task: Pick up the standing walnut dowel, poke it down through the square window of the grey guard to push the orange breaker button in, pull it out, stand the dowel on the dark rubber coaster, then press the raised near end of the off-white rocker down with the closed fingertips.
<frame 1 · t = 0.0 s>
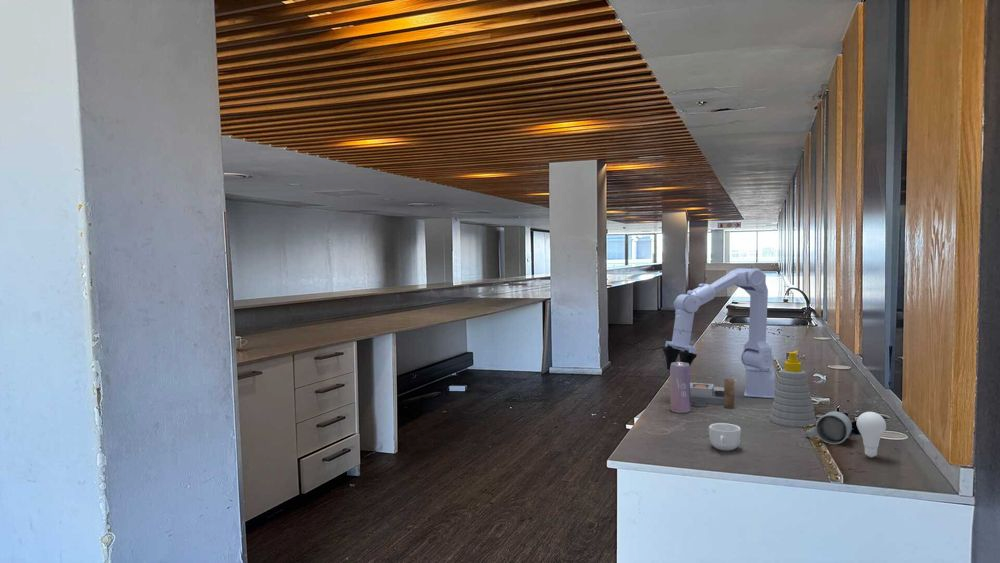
hand: (676, 371, 206), 11 cm above the countertop, tool pointing down, fingers open, 7 cm apart
dowel: (729, 407, 201), on the countertop
ceramic mug: (828, 440, 165), on the countertop
teacup: (724, 450, 159), on the countertop
breaker panel: (708, 399, 211), on the countertop
coaster: (699, 405, 204), on the countertop
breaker: (700, 388, 212), point 4 cm above the countertop, slide at 0.0 cm
rocker: (720, 389, 210), point 4 cm above the countertop, hinge at 14.0°
beverage can: (680, 411, 197), on the countertop
lightbulb: (870, 458, 151), on the countertop
soap bottle: (792, 422, 183), on the countertop
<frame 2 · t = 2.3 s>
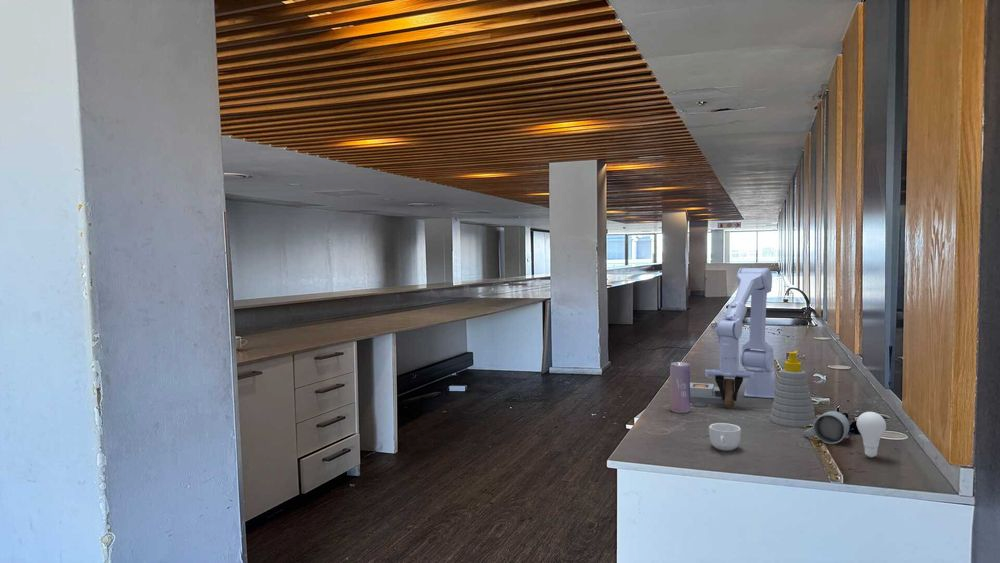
hand: (729, 399, 200), 2 cm above the countertop, tool pointing down, fingers closed on dowel, 3 cm apart
dowel: (729, 407, 201), on the countertop, touching gripper
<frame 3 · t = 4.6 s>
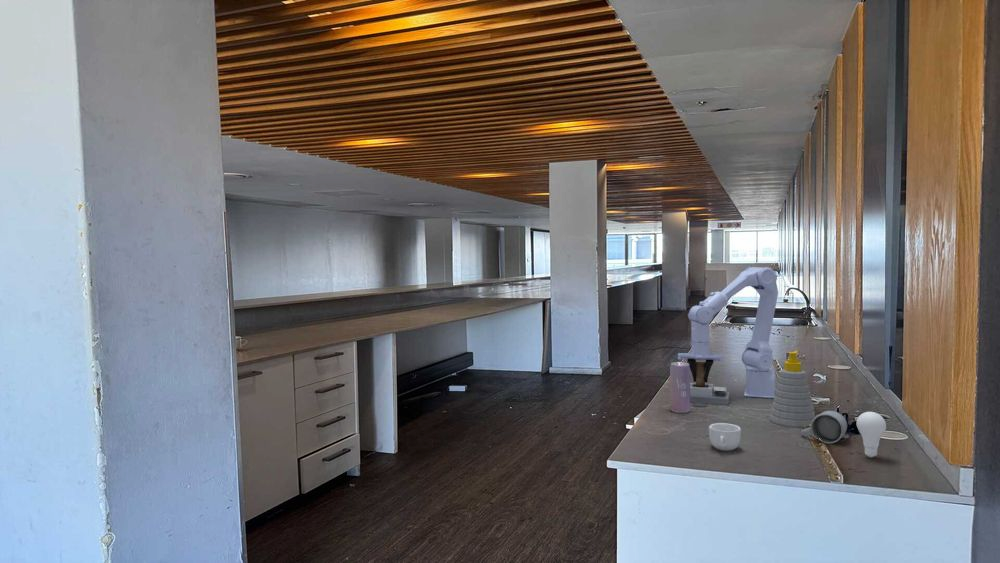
hand: (700, 381, 212), 6 cm above the countertop, tool pointing down, fingers closed on dowel, 3 cm apart
dowel: (700, 389, 212), point 4 cm above the countertop, touching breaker, gripper
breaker: (700, 390, 212), point 3 cm above the countertop, slide at 1.0 cm, touching dowel
when the fingers open (4 cm above the countertop, at t = 7.3 s): dowel stays where it is, resting on coaster.
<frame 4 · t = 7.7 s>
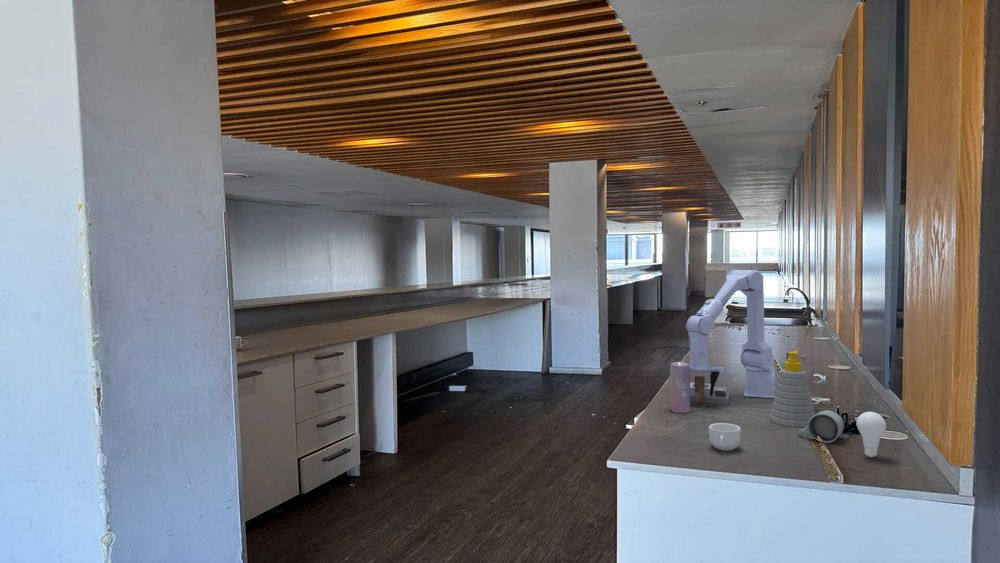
hand: (699, 394, 203), 4 cm above the countertop, tool pointing down, fingers open, 7 cm apart
dowel: (699, 404, 203), resting on coaster
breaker: (700, 390, 212), point 3 cm above the countertop, slide at 1.0 cm
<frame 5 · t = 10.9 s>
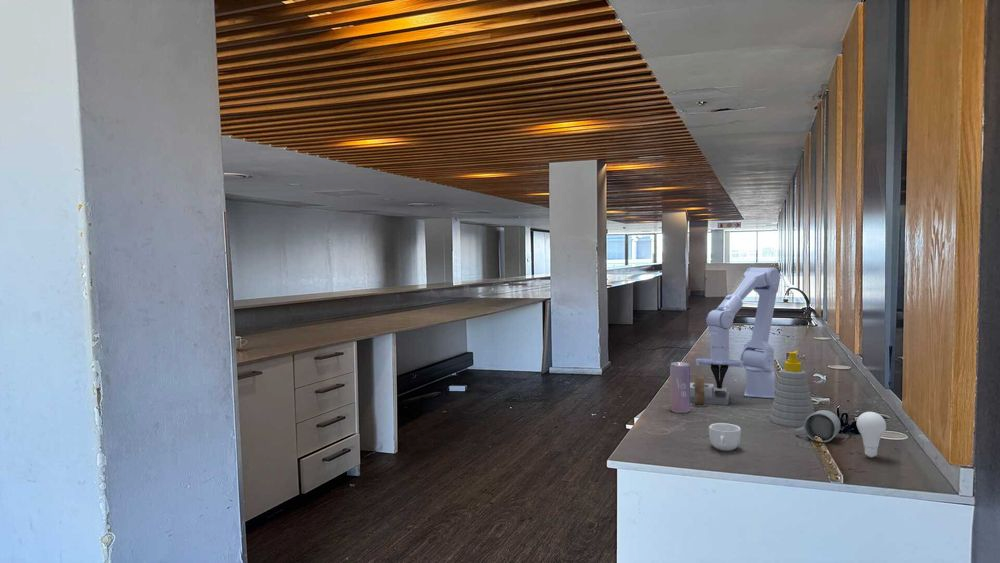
hand: (719, 387, 206), 5 cm above the countertop, tool pointing down, fingers closed, pressing on rocker
rocker: (720, 389, 210), point 4 cm above the countertop, hinge at 13.8°, touching gripper
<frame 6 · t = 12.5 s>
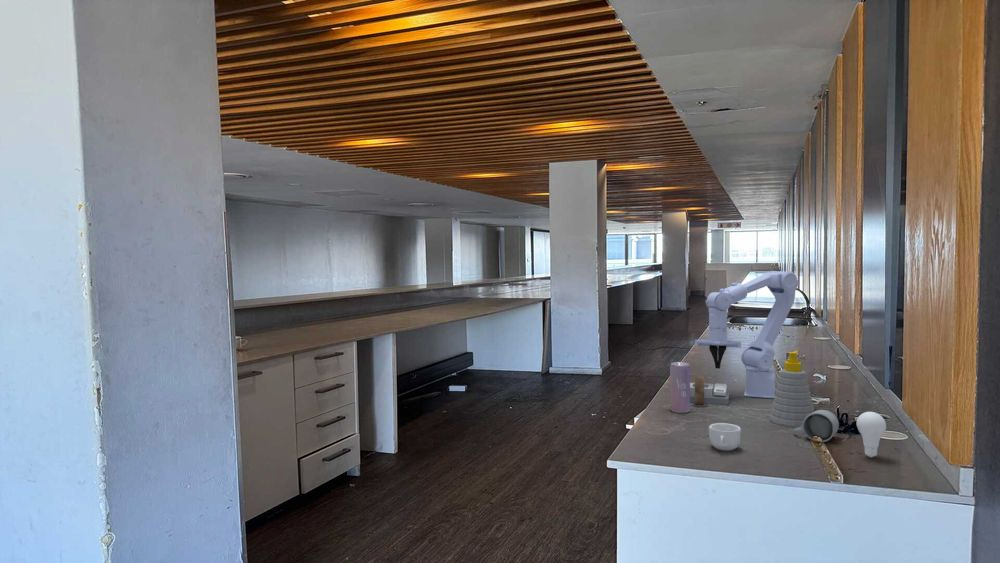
hand: (717, 368, 212), 10 cm above the countertop, tool pointing down, fingers closed
rocker: (720, 389, 209), point 4 cm above the countertop, hinge at -11.6°
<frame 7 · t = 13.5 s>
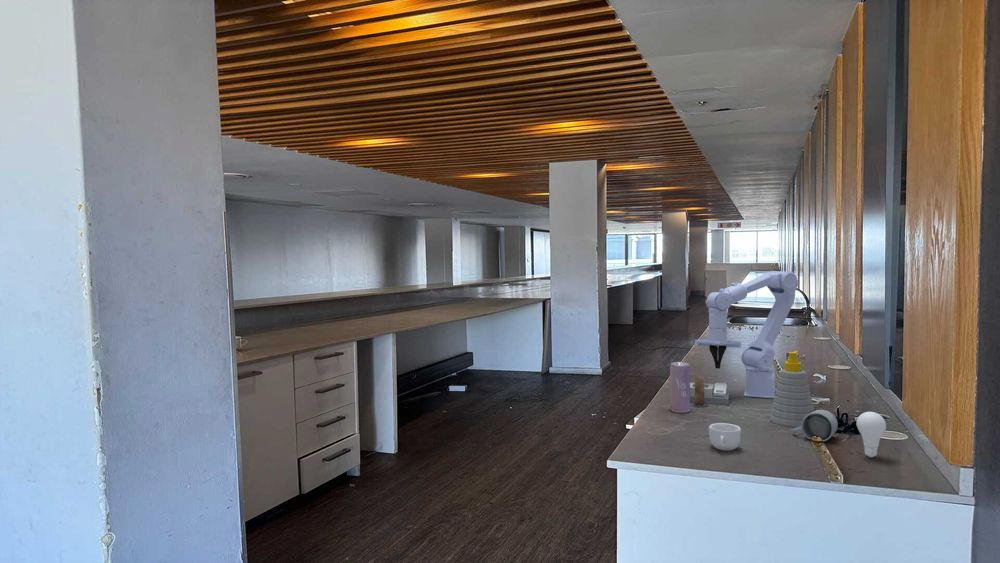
hand: (717, 368, 212), 10 cm above the countertop, tool pointing down, fingers closed
rocker: (720, 389, 209), point 4 cm above the countertop, hinge at -16.9°
at the end: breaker slide at 1.0 cm; rocker at -18° (first picture: +14°); dowel 0.2 cm from the coaster (horizontally) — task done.
